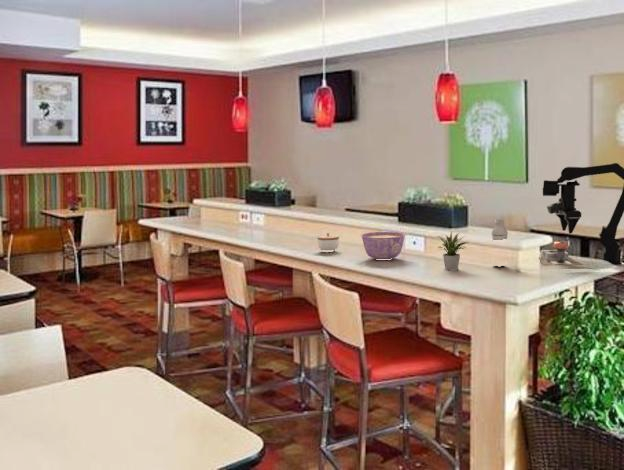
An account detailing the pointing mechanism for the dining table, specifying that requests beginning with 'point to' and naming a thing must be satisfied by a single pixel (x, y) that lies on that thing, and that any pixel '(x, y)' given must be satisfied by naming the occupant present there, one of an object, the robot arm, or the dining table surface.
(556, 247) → the copper knob
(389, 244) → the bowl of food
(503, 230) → the plastic bottle
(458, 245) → the house plant
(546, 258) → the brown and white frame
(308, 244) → the dining table surface
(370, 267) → the dining table surface
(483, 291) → the dining table surface
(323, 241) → the lidded jar
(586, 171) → the robot arm
